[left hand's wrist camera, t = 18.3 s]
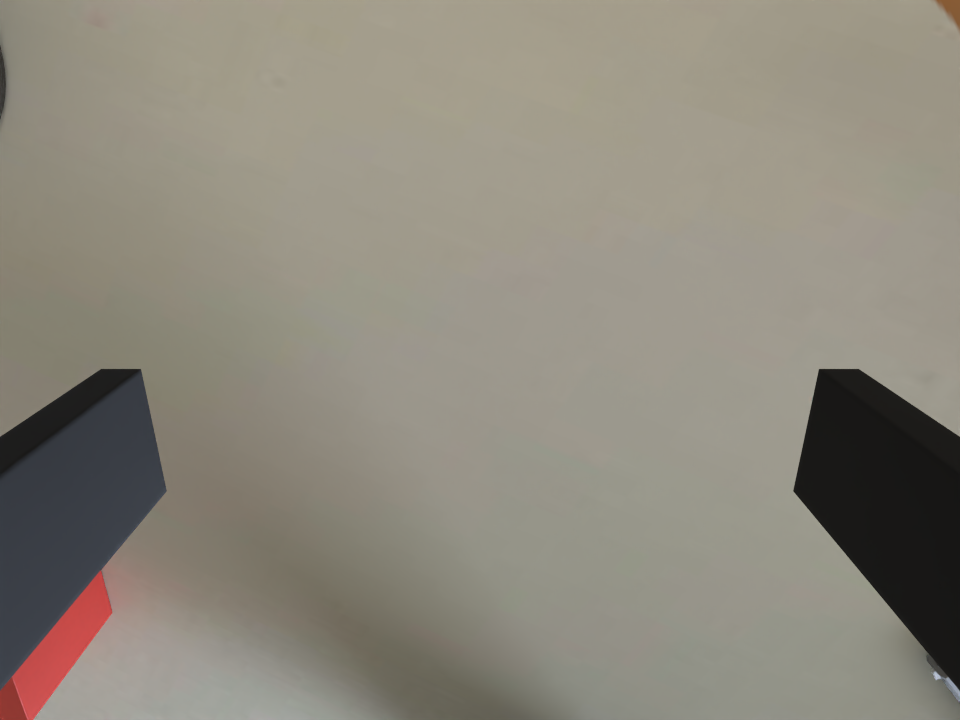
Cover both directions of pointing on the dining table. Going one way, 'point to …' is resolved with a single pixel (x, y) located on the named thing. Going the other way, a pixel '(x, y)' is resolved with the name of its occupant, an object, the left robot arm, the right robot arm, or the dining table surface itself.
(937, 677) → the pistol
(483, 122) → the dining table surface
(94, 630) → the block
